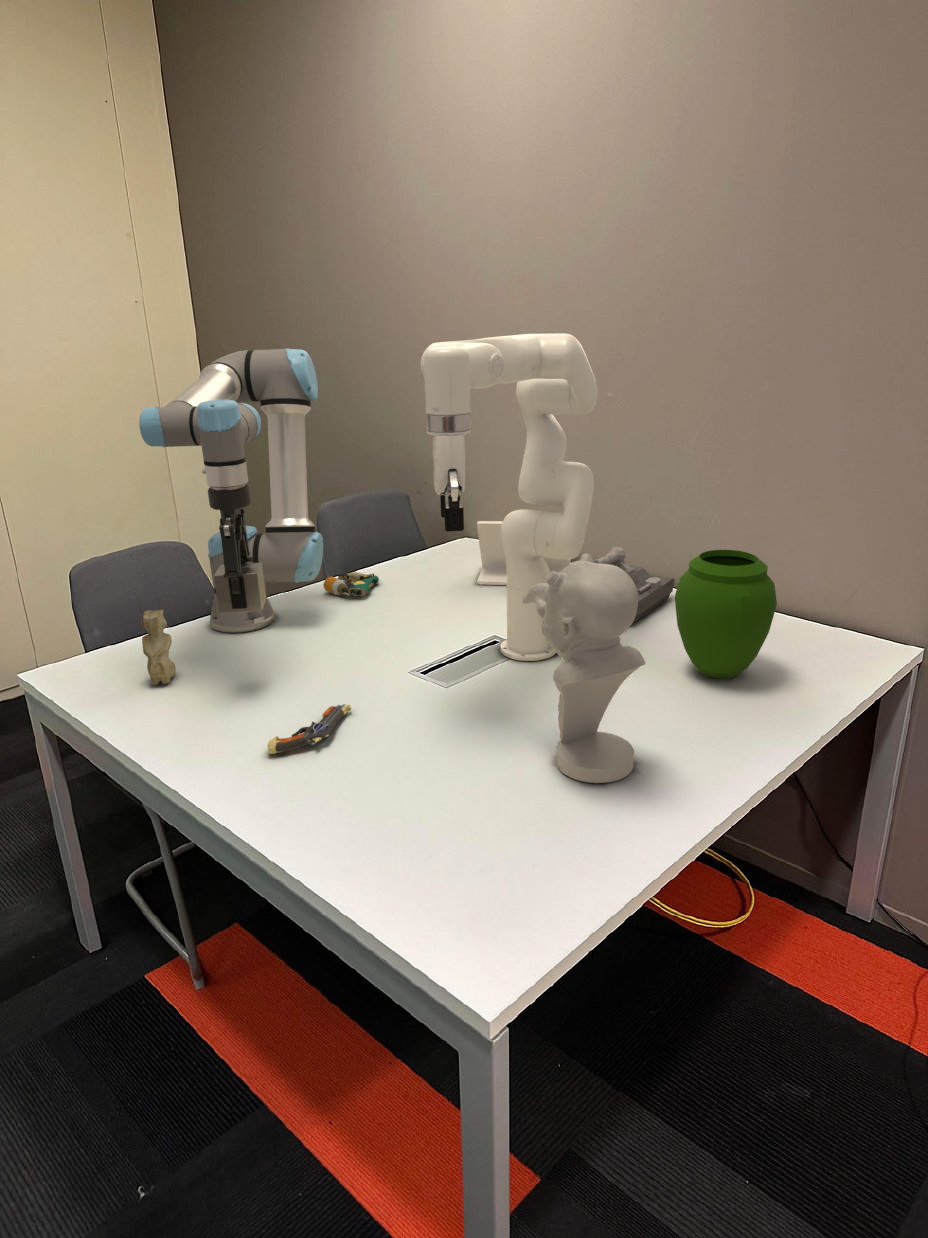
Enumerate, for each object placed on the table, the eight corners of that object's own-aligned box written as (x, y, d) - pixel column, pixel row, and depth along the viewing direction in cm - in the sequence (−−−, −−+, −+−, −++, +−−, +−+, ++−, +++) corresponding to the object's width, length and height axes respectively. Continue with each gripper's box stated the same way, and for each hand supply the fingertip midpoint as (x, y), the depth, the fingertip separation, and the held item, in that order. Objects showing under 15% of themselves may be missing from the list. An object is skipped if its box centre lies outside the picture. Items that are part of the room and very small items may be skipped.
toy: (603, 584, 229) (605, 530, 224) (673, 597, 218) (677, 540, 213) (555, 612, 210) (556, 553, 205) (630, 627, 199) (633, 566, 194)
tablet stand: (569, 585, 229) (570, 524, 223) (476, 584, 232) (475, 523, 226) (570, 566, 246) (571, 508, 240) (484, 564, 249) (483, 507, 243)
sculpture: (181, 672, 182) (171, 606, 177) (172, 686, 176) (161, 618, 170) (154, 673, 182) (142, 607, 177) (144, 687, 175) (131, 619, 170)
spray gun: (347, 579, 242) (393, 587, 236) (313, 594, 227) (362, 602, 221) (347, 565, 240) (393, 572, 235) (313, 578, 226) (361, 587, 220)
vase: (779, 663, 178) (792, 551, 169) (754, 700, 162) (766, 578, 154) (688, 646, 188) (695, 539, 179) (656, 679, 172) (662, 563, 164)
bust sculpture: (574, 712, 160) (578, 530, 147) (660, 769, 140) (672, 565, 127) (501, 733, 153) (498, 544, 140) (579, 797, 133) (584, 583, 120)
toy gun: (262, 744, 147) (317, 741, 144) (302, 702, 164) (351, 699, 162) (265, 758, 147) (319, 756, 145) (305, 715, 165) (354, 712, 163)
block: (225, 601, 171) (220, 564, 168) (266, 599, 172) (262, 562, 169) (219, 613, 165) (213, 575, 162) (261, 610, 165) (257, 573, 162)
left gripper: (217, 476, 168) (231, 586, 177) (196, 498, 150) (214, 620, 158) (255, 474, 169) (268, 584, 177) (239, 496, 151) (255, 618, 159)
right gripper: (423, 418, 151) (428, 513, 157) (429, 432, 134) (433, 537, 140) (466, 416, 151) (468, 511, 157) (476, 430, 135) (479, 535, 141)
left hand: (242, 601), depth 168 cm, fingers closed on block, 7 cm apart
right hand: (452, 523), depth 149 cm, fingers open, 9 cm apart
